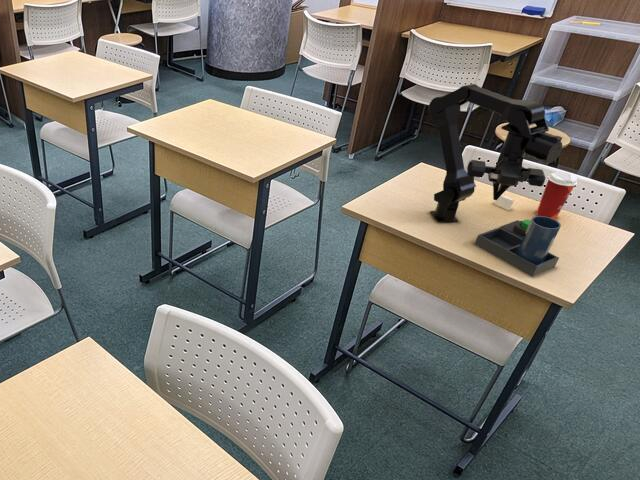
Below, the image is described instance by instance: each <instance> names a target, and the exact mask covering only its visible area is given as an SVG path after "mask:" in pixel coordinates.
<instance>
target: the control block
mask: <svg viewBox="0 0 640 480" xmlns="http://www.w3.org/2000/svg"><path fill="white" fill-rule="evenodd" d="M522 222H523V220H514V221H511V222H509V223H505V224H503V225H500V226H499V227H501V228H503V229H505V230H506V231H508V232H510V233H512V234H514V235H516V236H518V237H520V238H522V239H523V237H524V235H525V233H526V230H527V229H524V228H522V227H521V224H522Z"/></svg>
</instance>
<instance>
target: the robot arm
mask: <svg viewBox="0 0 640 480" xmlns="http://www.w3.org/2000/svg"><path fill="white" fill-rule="evenodd" d="M467 103H471V104H473V105H476V106H478V107H481V108H483V109H485V110H488V111H491V112H493V113H496V114H499V115H500V116H502V118H503V119H504V120H505V121H506V122H507V124H505V125H502V126H500V128H501V130H502V131H503V130H504V131H506V132H507V134H506V137H505V140H504V143H503V145H502V148H501V150H500V152H499V156H498V159H497V160H496V163H495V165H494V166H489V165H486V161H483V160H476V159H471V160H470V161H468V164H467V167H466V170H465V165H464V164H465V163H464V157H463V153H462V147H461V140H460V139H461V138H460V135H459V128H458V127H459V126H458V121H459V118H460V115H461V106H463V105H465V104H467ZM428 112H429V115H430V118H431V120H432V121H433V123H434V124H435V125H436V126H437V127H438V129H439V130H438V131H439V139H440V142H441V149H442V155H443V160H444V166H445V173H446V174H445V177H444V180H443V182H442V183H443V184H442V190H440V191H438V192H435V193H434V194H433V201H434V202H436V203H437V204H436V207H435V210H430V211H429V214H430V215H431V216H432V217H433V219H434V220H435V221H436V222H437V223H458V222H459V220H458V218H457V217H456V214H457V212H458V208H459V205H460V202H462V201H466V199H467V198H470V197H471V196H473V194H474V193H475V188H476V187H477V185H476V183H475V178H481V177H484V175H485V174H487V177H488V178H487V179H488V182H491V183H492V199H493V201H496V200H497V199H498V198H499V197H500V196H501V195H504V193H505V192H506V191H507V190H508V189H509V188H511V187H515V186H518V185H519V183H524V182H527V184H528V185H529V186H534V187H540V188H541V187H543V186H544V184H545V182H546V174H545V172H544V170H543V169H540V168H533V167H524V166H523V162H524V159H525V156H526V155H527V156H528V157H531V158H534V159H536V160H539V161H541V162H544V163H547V164H551V163H553V162H555V161H556V160H557V159H558V157H559V156H560V155H561V153H562V151H563V142H562V139H563V137H562V136H560V135H555V134H552V133H548V132H549V131H550V129H549V126H548V121H547V118H546V109H545V105H544V104H543V103H542V102H540V101H534V100H527V99H514V98H511V97H508V96H505V95H503V94H500V93H497V92H494V91H492V90H490V89H486V88H483V87H481V86H479V85H477V84H475V83H469V84H466V85H462V86H461V87H459V88H457V89H456V90H453V91H451V92H449V93H447V94H445V95H441V96H435V97H434V98H432V99H431V101H430V102H429V103H428ZM533 125H535V126H533ZM531 126H532V127H531Z"/></svg>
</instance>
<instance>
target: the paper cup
mask: <svg viewBox="0 0 640 480" xmlns="http://www.w3.org/2000/svg"><path fill="white" fill-rule="evenodd" d="M576 185H578V178H577V176H576V175H574V174H572V173H568V172H566V171H553V172H551V173H550V175H548V177H547V182H546V185H545V188H544V190H543V193H542V195H541V199H540V201H539V204H538V208H537V209H536V216H545V217H549V218H552V219H554V220H557V217H558V216H559V215H560V213H561V211H562V209H563V207H564V206H565V204H566V202H567V201H568V198H569V196H570V195H571V193H572V191H573V190H574V188H575V186H576Z"/></svg>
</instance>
